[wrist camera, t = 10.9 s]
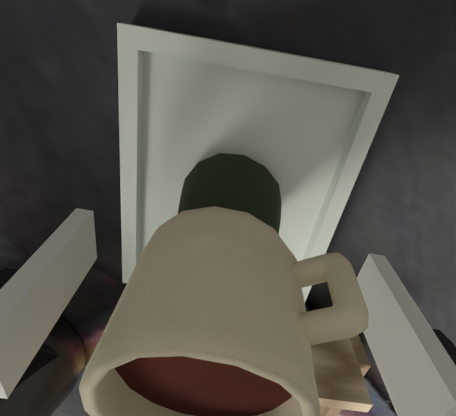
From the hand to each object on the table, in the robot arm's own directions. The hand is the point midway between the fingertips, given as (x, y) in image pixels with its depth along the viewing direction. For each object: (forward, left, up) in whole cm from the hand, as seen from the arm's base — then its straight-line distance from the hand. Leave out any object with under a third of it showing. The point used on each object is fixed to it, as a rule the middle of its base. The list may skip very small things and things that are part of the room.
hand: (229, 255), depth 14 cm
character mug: (0, 0, -6) cm, 6 cm away
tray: (0, 0, -7) cm, 7 cm away
